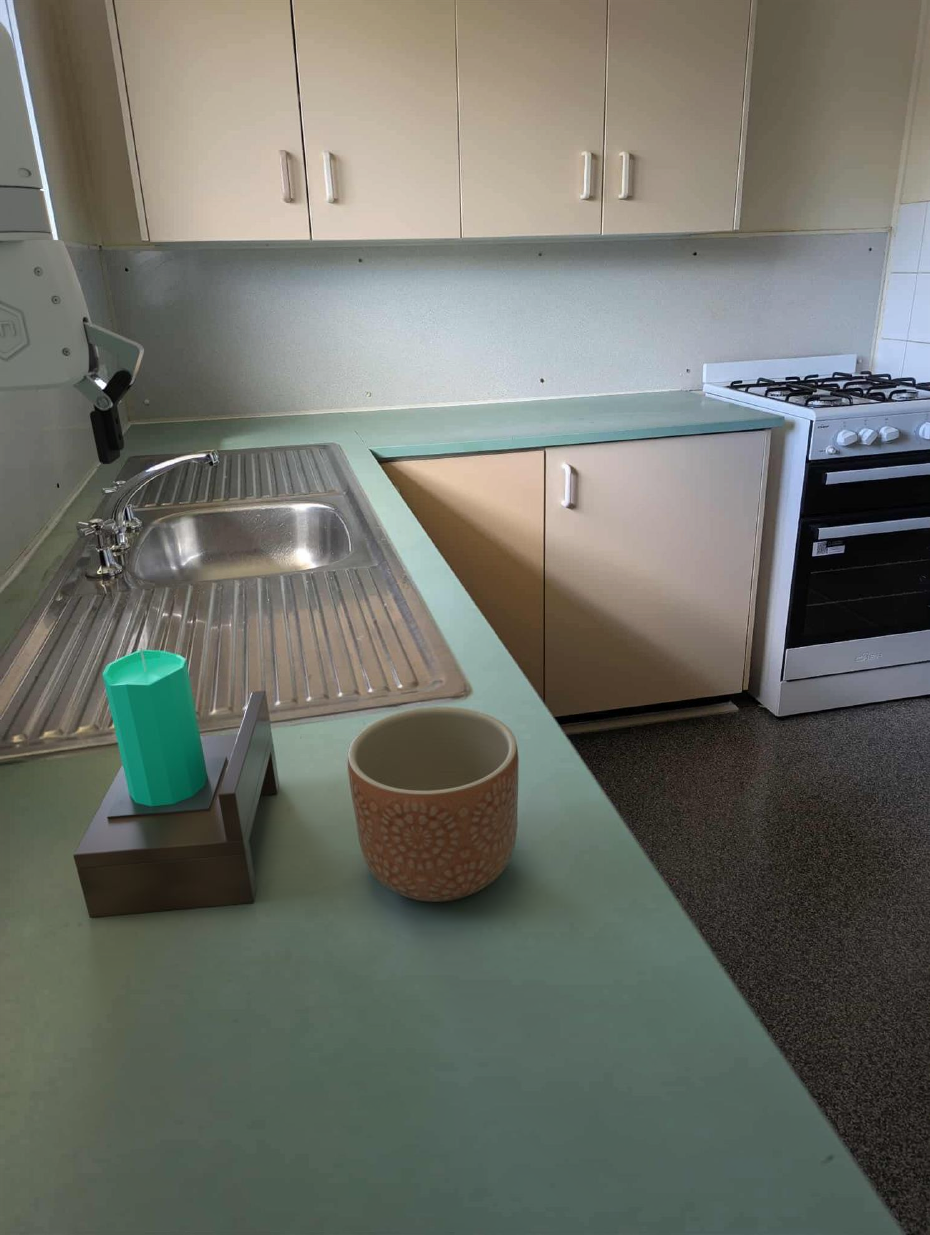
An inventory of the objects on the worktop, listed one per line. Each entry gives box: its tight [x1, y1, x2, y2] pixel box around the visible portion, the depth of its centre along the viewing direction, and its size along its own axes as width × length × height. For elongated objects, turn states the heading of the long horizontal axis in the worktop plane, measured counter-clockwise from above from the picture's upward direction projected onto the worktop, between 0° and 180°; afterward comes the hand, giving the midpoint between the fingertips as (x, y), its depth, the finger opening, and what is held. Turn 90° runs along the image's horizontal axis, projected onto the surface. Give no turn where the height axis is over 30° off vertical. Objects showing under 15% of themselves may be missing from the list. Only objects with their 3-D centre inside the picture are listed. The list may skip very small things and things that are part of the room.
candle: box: [101, 646, 207, 806], centre depth 67 cm, size 6×6×12 cm
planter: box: [347, 706, 520, 903], centre depth 65 cm, size 12×12×11 cm
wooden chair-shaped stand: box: [72, 690, 280, 918], centre depth 70 cm, size 12×16×10 cm
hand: (47, 464), depth 67 cm, fingers open, 9 cm apart
